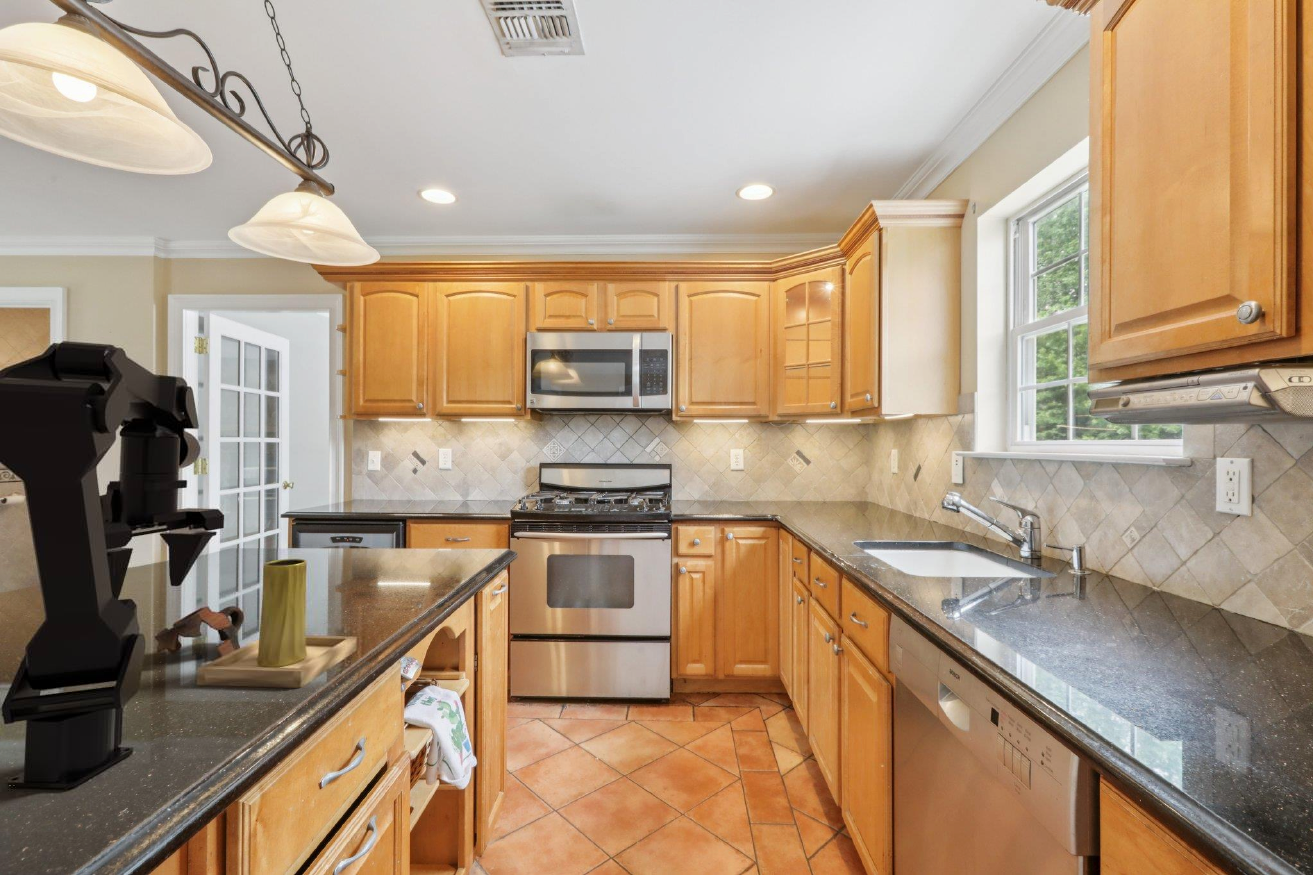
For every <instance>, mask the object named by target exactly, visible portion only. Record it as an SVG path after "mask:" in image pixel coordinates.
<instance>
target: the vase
mask: <svg viewBox="0 0 1313 875" xmlns="http://www.w3.org/2000/svg"><path fill="white" fill-rule="evenodd" d="M307 564H308V563H307V560H306V559H303V558H285V559H276V560H271V561H267V562H265V563H264V564H263V569H262V570H263V574H262V597H261V598H262V599H261V614H260V625H259V626H260V627H259V638H258V640H259V649H258V658H257V664H258V665H259V666H262V667H281V666H287V665H291V664H294V663H297V662H299V661H301V660H303V659H304V658H305V657H306V656H307V651H306V635H307V632H306V631H307V629H306V614H307V610H306V609H307V606H306V605H307Z"/></svg>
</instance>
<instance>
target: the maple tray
mask: <svg viewBox="0 0 1313 875" xmlns="http://www.w3.org/2000/svg"><path fill="white" fill-rule="evenodd" d="M357 638H358V637H357V636H345V635H344V636H343V635H342V636H341V635H340V636H339V635H337V636H336V635H333V636H332V635H307V634H306V651H307V656H306V657H305V658H304V659H303V660H301V661H299V662H297V663H294V664H291V665H287V666H281V667H262V666H259V665H258V664H257V658H258V649H259V639H257V640H253V641H252V642H251V643H248V644H246V645H244V646H242V647H240V649H238V650H235V651H233V652H231V653H229V654H227V655H225V656H223V657H221V656H220V657H219V658H217V659H214V660H213V661H211V662H208V663H206V664H205V665H202V666H200V667H198V668H197V679H196V680H197V681H196V682H197V683H196V685H197V686H219V687H220V686H223V687H254V688H255V687H256V688H257V687H258V688H259V687H261V688H265V687H267V688H295V689H296V688H298V689H300V688H302V687H305V686H306V685H308V684H309V683H310V682H311V681H313V680H314V679H316V678H318V677H319V676H321V675H322V674H323V673H325V672H327V671H329V669H331V668H333V667H334V666H335V665H338V663H340V662H341V661H344V659H346V658H348V657H349V656H351V655H352V654H354V653H355V652H356V651H357V642H358V641H357Z"/></svg>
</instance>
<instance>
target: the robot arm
mask: <svg viewBox="0 0 1313 875" xmlns="http://www.w3.org/2000/svg"><path fill="white" fill-rule="evenodd" d="M196 407H197V406H196V402H195V397H194V390H193V388H192V386H189V385H188V383H187V381H186V380H185V378H183V377H182V376H176V375H175V376H172V375H162V374H155V373H153V372H151V371H150V370H148V369H146V368H145V367H143V366H142V365H141V364H138V363H137V362H136V361H135V360H133V359H131V358H130V357H129V356H127V354H126V351H125V350H124V349H123V348H122V347H116V346H115V345H114V344H109V343H108V344H107V343H95V342H94V343H93V342H83V341H82V342H80V341H67V340H63V341H62V342H60V343H59V342H53V343H51V344H50V345H49V347H48V348H46V350H45V351H44V352H43V353H42V354H40V355H37V356H34V357H31V358H29V359H26V360H23V361H21V362H18V363H17V362H16V363H15V364H12V365H9V366H5V367H4V368H2V369H0V464H1V465H2V466H3V467H5V468H6V469H7V470H8V471H10V472H11V473H12V474H13V475H14V476H16V477H17V478H18V479H19V480H21V481H22V484H23V489H24V490H23V491H24V495H25V502H26V507H27V513H28V520H29V525H30V531H31V537H32V538H31V539H32V543H33V549H34V555H35V562H36V567H37V568H36V569H37V574H38V581H39V585H40V591H41V597H42V598H41V599H42V603H43V609H44V615H45V618H44V621H43V622H42V624H41V625H40V626H39V628H38V629H37V631H36V632H35V633H34V635H33V636H32V637H31V639H30V640H29V642H28V643H27V644H26V646H25V650H24V652H25V653H24V656H23V658H22V659H21V661H20V664H19V666H18V669H17V670H16V673H15V676H14V678H13V681H12V682H11V684H10V686H9V689H8V691H7V693H6V696H5V698H4V700H3V702H2V705H1V712H2V713H1V717H2V719H3V724H4V725H9V724H14V723H17V722H18V723H20V722H25V721H26V722H25V742H24V744H25V745H24V760H23V761H24V763H23V765H24V766H23V768H24V769H23V771H22V772H20V773H19V774H17V775H15V776H13V777H10V778H9V779H7V781H6V787H9V785H11V786H13V785H14V786H23V787H22V788H42V789H43V788H48V789H50V788H51V789H70V788H74V787H76V786H79V785H80V784H83V783H84V782H86V781H87V780H90V779H91V778H93V777H94V776H96V775H98V774H100V773H102V772H103V771H105V770H106V769H108V768H110V767H112V766H113V765H115V764H117V763H118V762H120V761H122V760H124V759H125V758H127V757H129V756H130V755H132V754H133V753H134V749H135V748H134V747H132V746H129V747H128V746H127V747H126V746H121V745H122V739H123V738H122V736H123V715H124V714H123V712H124V707H125V706H126V705H127V704H128V703H129V701H131V699H133V697H134V696H135V695H136V694H138V692H139V690H140V684H141V678H142V672H143V666H144V659H145V655H146V654H145V653H146V636H145V635H144V633H140V625H139V621H138V606H137V604H136V602H135V601H134V599H132V598H125V599H124V598H123V599H121V598H120V595H121V593H122V588H123V586H124V582H125V578H126V575H127V572H128V567H129V566H130V565H129V564H130V562H131V559H132V558H131V557H132V554H133V550H134V548H133V547H126V546H127V545H128V544H129V543H130V541H132V538H134V537H140V536H147V535H153V534H159V536H160V537H161V539H163V541H164V542H165V543H166V545H167V547H168V573H169V574H168V575H169V582H170V583H169V584H170V586H172V587H179V586H181V585H183V582H184V580H185V578H187V575H188V574H189V572H190V571H191V569H192V567H193V565H194V564H195V562H196V561H197V559H198V558H199V556H200V555H201V553H202V552H203V550H204V549H205V547H206V546H207V545H208V543H209V542H210V541H211V539H212V538H213V537H214V536H216V535H217V531H216V530H221V529H224V528H225V515H224V514H223V512H221V510H220V509H219V508H201V507H200V508H194V507H187V508H186V507H185V508H178V505H179V502H178V501H179V489H187V488H188V480H187V479H185V480H184V479H179V478H180V476H179V475H180V474H179V472H180V469H184V468H187V467H189V466H191V465H193V464H194V463H195V462H196V461H197V459H199V456H200V453H201V445H200V443H199V441H198V439H197V438H196V437H195V436H194V435H193V434H192V433H190V432H188V431H186V430H187V429H188V430H189V429H190V430H198V429H199V427H200V426H199V424H200V423H199V420H198V419H199V418H198V414H197V408H196ZM120 427H121V429H120V431H118V432H119V436H120V450H119V451H120V455H119V475H118V476H119V477H118V480H109V483H108V484H107V485H106V493H105V494H102V495H100V488H99V478H98V471H97V467H98V465H99V464H100V463H101V461H102V460H103V459H104V457H105V455H106V454H107V453H108V452H109V450H110V449H111V448H112V446H113V445H114V444H115V442H116V440H117V430H119V428H120ZM110 683H111V684H112V683H115V684H114V685H112V686H105V687H96V688H90V689H80V690H72V691H71V690H70V691H65V692H56V693H50V694H49V693H48V694H41V692H42V691H44V692H45V691H51V690H52V691H53V690H62V689H69V688H70V689H71V688H76V687H77V688H78V687H86V686H94V685H101V684H110Z"/></svg>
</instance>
